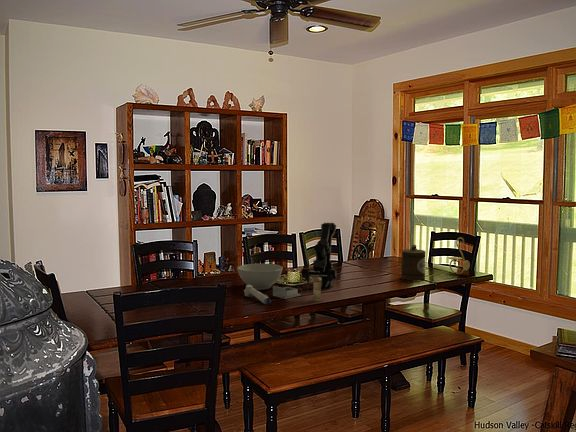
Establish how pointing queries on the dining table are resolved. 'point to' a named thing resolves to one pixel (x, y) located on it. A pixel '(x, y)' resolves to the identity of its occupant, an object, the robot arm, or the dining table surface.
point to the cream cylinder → (317, 289)
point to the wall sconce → (465, 263)
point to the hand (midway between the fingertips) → (316, 286)
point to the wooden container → (413, 264)
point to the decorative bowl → (260, 275)
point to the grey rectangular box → (285, 292)
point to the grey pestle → (256, 294)
